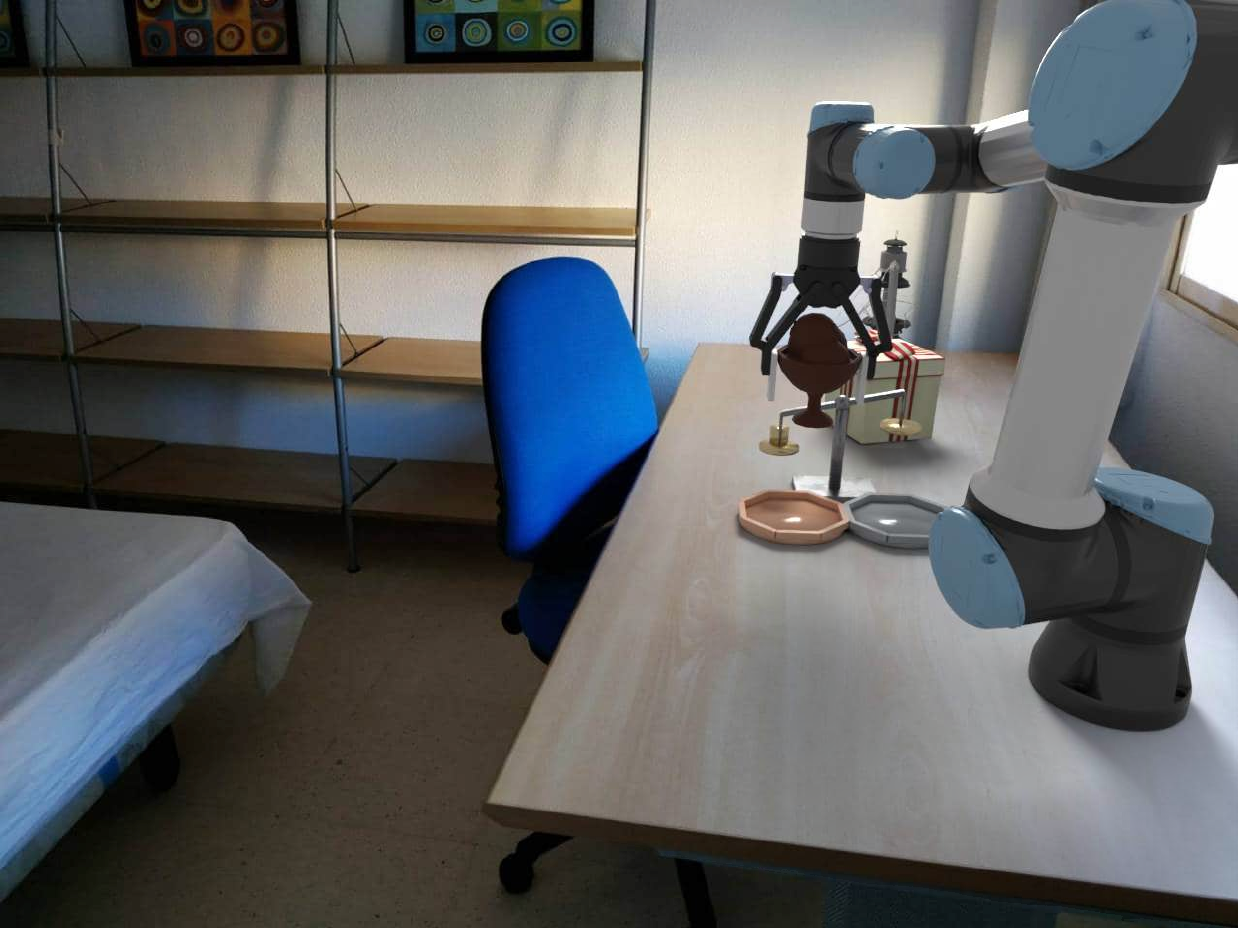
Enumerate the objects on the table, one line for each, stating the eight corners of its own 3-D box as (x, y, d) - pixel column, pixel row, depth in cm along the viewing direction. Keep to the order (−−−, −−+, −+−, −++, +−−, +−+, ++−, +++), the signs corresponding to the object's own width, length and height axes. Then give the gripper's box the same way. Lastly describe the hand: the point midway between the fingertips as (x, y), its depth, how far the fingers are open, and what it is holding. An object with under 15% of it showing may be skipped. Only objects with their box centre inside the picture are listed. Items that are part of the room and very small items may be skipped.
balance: (917, 506, 145) (931, 398, 139) (758, 501, 147) (764, 394, 140) (906, 485, 153) (919, 382, 147) (754, 481, 154) (760, 378, 148)
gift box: (952, 436, 175) (965, 342, 168) (865, 449, 168) (875, 351, 162) (894, 408, 189) (904, 321, 183) (812, 419, 183) (819, 328, 177)
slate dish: (965, 550, 132) (967, 538, 131) (853, 546, 132) (854, 534, 132) (938, 505, 146) (940, 494, 145) (837, 502, 146) (838, 491, 146)
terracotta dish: (853, 546, 132) (854, 534, 132) (741, 543, 133) (742, 531, 133) (837, 502, 146) (838, 491, 146) (736, 499, 147) (737, 488, 147)
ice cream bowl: (855, 438, 126) (868, 325, 120) (768, 431, 128) (776, 319, 122) (854, 412, 136) (866, 305, 130) (773, 405, 138) (781, 300, 132)
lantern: (816, 359, 222) (827, 225, 211) (898, 356, 225) (914, 223, 215) (847, 382, 206) (861, 237, 195) (936, 378, 209) (954, 235, 198)
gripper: (919, 230, 125) (898, 393, 133) (735, 226, 126) (725, 387, 135) (932, 241, 118) (909, 412, 127) (737, 236, 119) (727, 405, 128)
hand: (814, 399), depth 131 cm, fingers closed on ice cream bowl, 11 cm apart
